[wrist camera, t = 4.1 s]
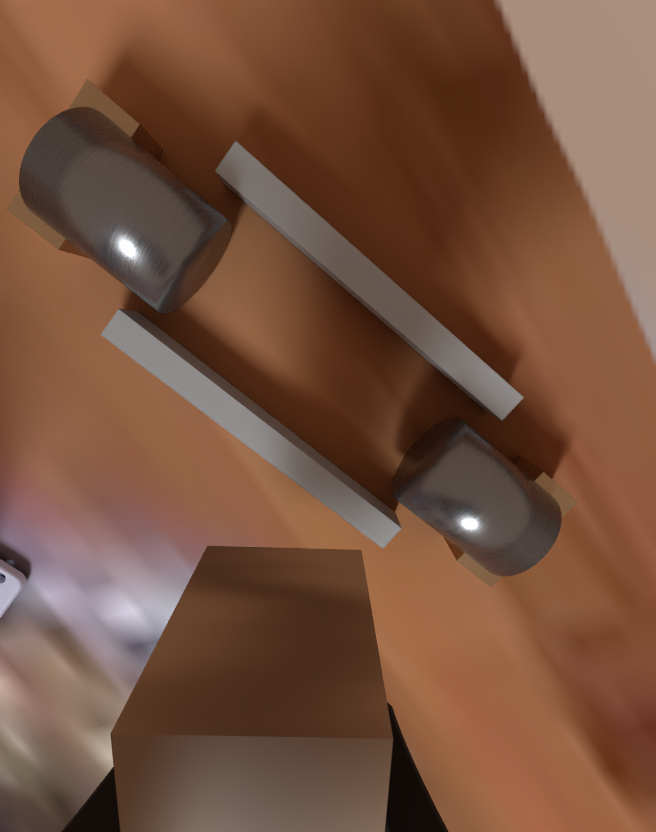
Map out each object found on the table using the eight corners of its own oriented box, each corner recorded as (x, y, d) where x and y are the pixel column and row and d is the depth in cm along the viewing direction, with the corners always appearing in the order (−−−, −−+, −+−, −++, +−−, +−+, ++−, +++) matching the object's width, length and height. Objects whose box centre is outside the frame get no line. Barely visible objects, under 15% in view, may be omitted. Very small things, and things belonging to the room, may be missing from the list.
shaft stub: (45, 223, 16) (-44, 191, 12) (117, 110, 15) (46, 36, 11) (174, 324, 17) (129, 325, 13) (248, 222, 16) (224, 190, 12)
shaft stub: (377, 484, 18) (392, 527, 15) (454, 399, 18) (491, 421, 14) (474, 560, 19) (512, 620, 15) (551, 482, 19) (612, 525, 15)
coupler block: (213, 785, 12) (140, 1092, 7) (205, 545, 11) (103, 741, 6) (348, 787, 13) (365, 1093, 8) (363, 550, 11) (397, 745, 6)
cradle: (119, 333, 17) (100, 334, 15) (244, 158, 16) (235, 140, 14) (378, 531, 19) (382, 548, 17) (507, 391, 18) (523, 397, 16)
